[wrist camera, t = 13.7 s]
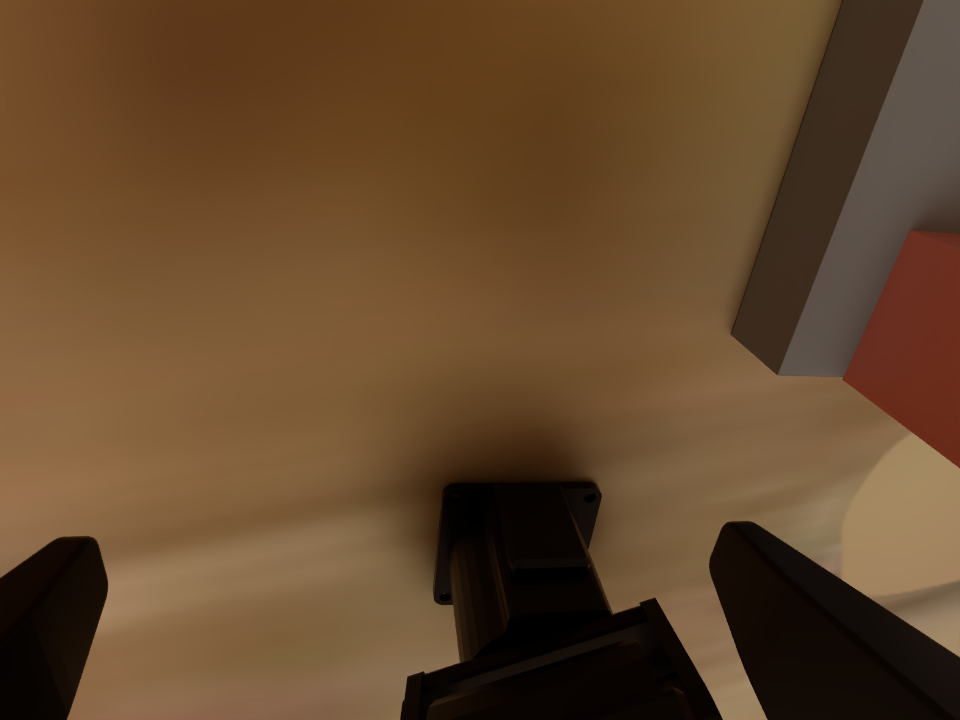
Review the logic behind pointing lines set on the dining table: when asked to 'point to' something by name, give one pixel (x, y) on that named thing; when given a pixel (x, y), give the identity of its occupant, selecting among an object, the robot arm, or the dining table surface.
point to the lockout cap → (917, 343)
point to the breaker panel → (858, 183)
